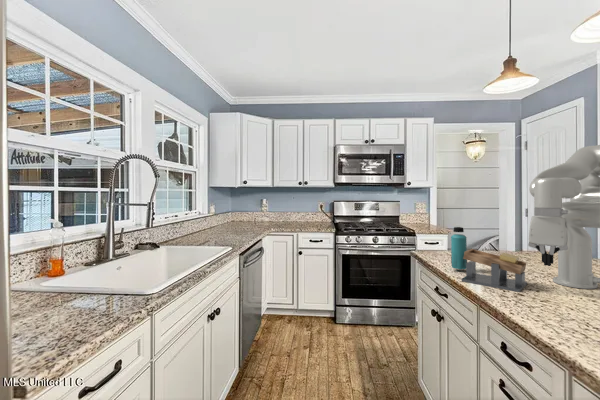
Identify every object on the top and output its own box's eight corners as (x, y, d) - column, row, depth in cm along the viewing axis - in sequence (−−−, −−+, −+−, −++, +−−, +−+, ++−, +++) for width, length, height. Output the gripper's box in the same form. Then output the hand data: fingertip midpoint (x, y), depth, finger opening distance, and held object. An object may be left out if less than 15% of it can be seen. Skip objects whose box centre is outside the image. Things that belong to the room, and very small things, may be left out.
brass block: (517, 264, 112) (519, 256, 111) (514, 266, 108) (516, 258, 108) (502, 260, 115) (503, 252, 115) (498, 262, 112) (500, 254, 112)
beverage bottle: (469, 273, 130) (469, 228, 130) (453, 272, 132) (453, 227, 131) (464, 269, 137) (464, 226, 136) (449, 268, 138) (448, 226, 138)
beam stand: (526, 284, 113) (526, 261, 113) (519, 292, 104) (519, 267, 104) (472, 275, 127) (472, 254, 127) (461, 281, 118) (461, 259, 118)
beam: (524, 270, 112) (526, 262, 111) (520, 274, 106) (521, 266, 106) (470, 255, 125) (471, 248, 125) (463, 258, 120) (464, 251, 119)
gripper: (578, 213, 100) (577, 267, 100) (523, 211, 111) (523, 260, 111) (575, 214, 95) (575, 271, 95) (519, 212, 106) (519, 263, 106)
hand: (547, 265), depth 103 cm, fingers closed
